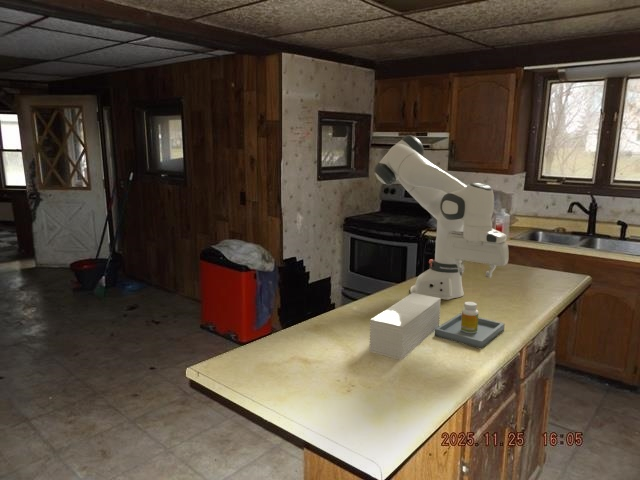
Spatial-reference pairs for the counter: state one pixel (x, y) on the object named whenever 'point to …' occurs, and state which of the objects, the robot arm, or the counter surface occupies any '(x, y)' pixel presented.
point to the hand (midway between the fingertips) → (474, 274)
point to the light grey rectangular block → (404, 325)
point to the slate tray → (479, 339)
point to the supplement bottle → (469, 318)
